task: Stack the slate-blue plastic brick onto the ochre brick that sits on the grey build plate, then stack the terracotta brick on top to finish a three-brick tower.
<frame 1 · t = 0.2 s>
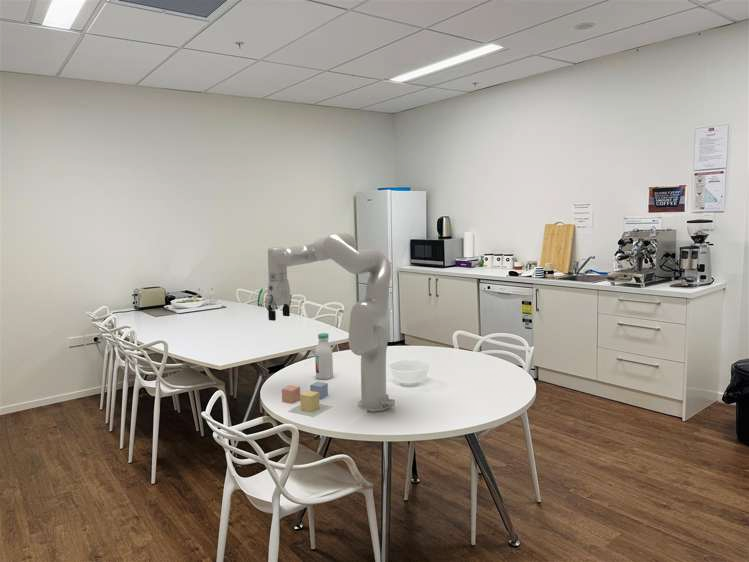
hand: (279, 318, 226), 31 cm above the table, tool pointing down, fingers open, 9 cm apart
brick A: (319, 398, 218), on the table
build plate: (310, 410, 205), on the table
milk bottle: (324, 377, 246), on the table
brick B: (291, 402, 214), on the table
brick base: (310, 408, 204), point 1 cm above the table, touching build plate
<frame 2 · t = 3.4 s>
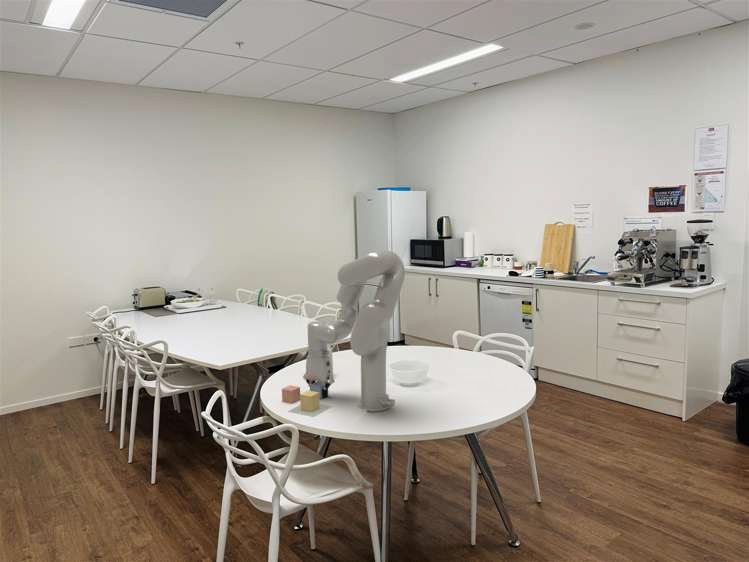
hand: (319, 396, 218), 1 cm above the table, tool pointing down, fingers closed on brick A, 5 cm apart
brick A: (319, 398, 218), on the table, touching gripper
everything else where it was.
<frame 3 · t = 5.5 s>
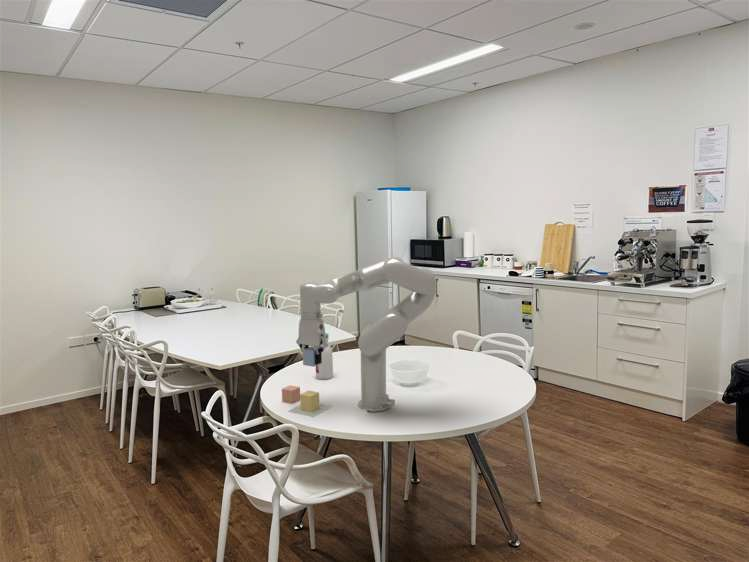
hand: (312, 362, 208), 17 cm above the table, tool pointing down, fingers closed on brick A, 5 cm apart
brick A: (312, 364, 208), point 17 cm above the table, touching gripper
everything else where it was.
when the fingers open (8 cm above the table, at t = 7.9 s): brick A stays where it is, resting on brick base.
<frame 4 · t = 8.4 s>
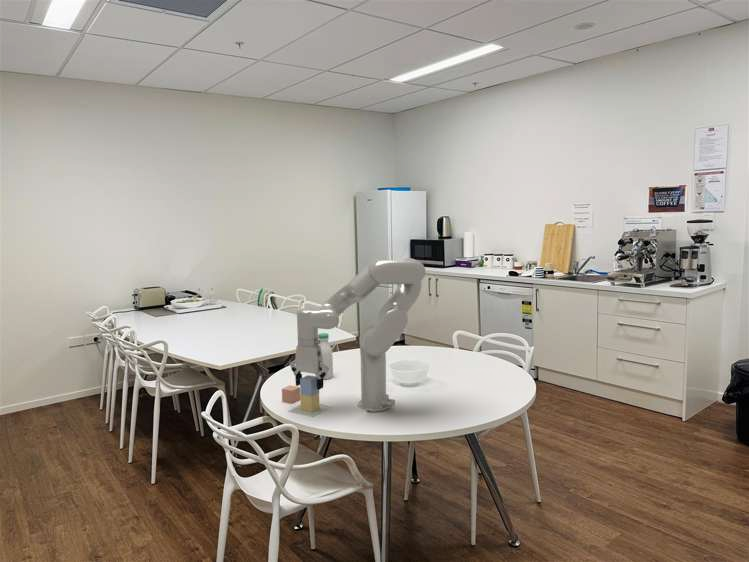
hand: (309, 386, 203), 9 cm above the table, tool pointing down, fingers open, 9 cm apart
brick A: (309, 393, 204), point 7 cm above the table, touching brick base
brick base: (310, 408, 204), point 1 cm above the table, touching brick A, build plate
everything else where it was.
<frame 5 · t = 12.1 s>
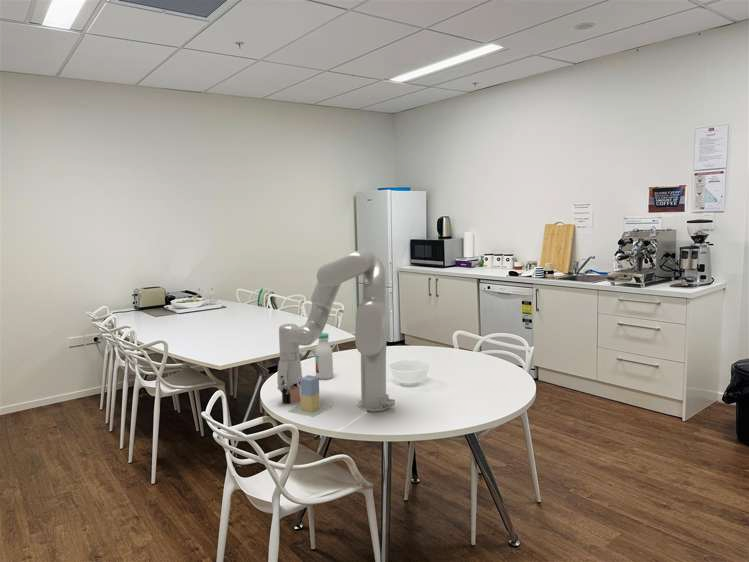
hand: (291, 400, 214), 1 cm above the table, tool pointing down, fingers closed on brick B, 5 cm apart
brick B: (291, 402, 214), on the table, touching gripper
everything else where it was.
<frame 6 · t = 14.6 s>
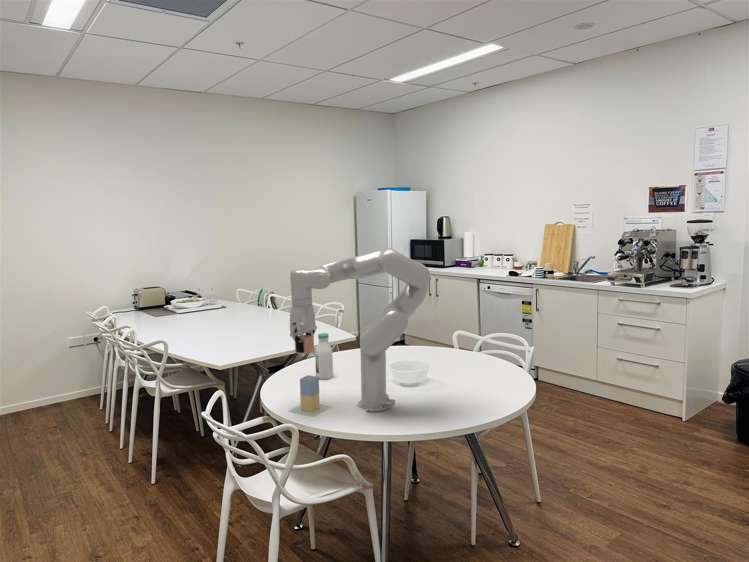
hand: (304, 349, 204), 23 cm above the table, tool pointing down, fingers closed on brick B, 5 cm apart
brick B: (304, 352, 204), point 22 cm above the table, touching gripper
everything else where it was.
when the fingers open (14 cm above the table, at t = 16.9 s): brick B stays where it is, resting on brick A.
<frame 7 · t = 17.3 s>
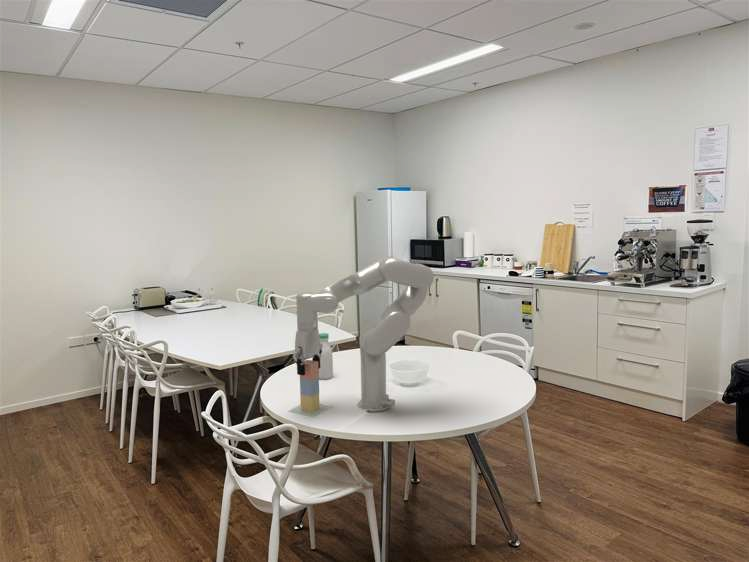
hand: (309, 371, 203), 15 cm above the table, tool pointing down, fingers open, 9 cm apart
brick A: (309, 393, 204), point 7 cm above the table, touching brick B, brick base
brick B: (309, 377, 203), point 13 cm above the table, touching brick A
everything else where it was.
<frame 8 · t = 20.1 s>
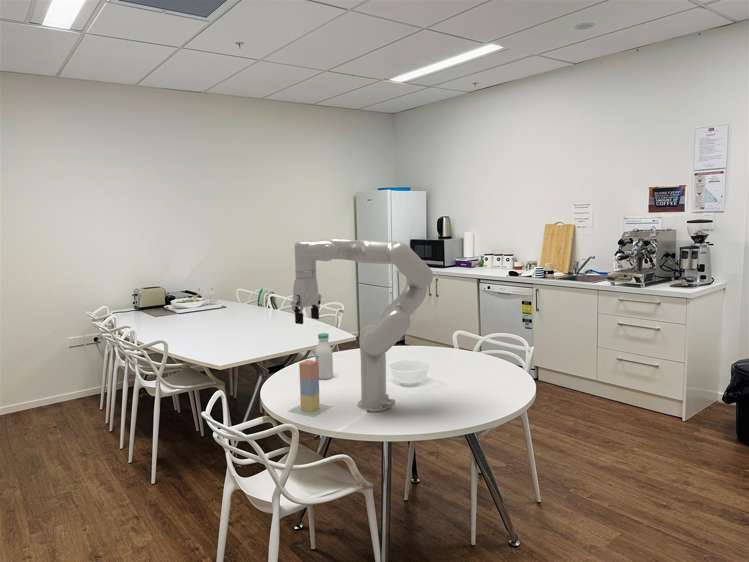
hand: (307, 321, 200), 34 cm above the table, tool pointing down, fingers open, 9 cm apart
nothing on the table moved.
at the end: brick A 0.1 cm off-centre on the brick base, point 6.0 cm above the brick base's base; brick B 0.0 cm off-centre on the brick base, point 12.0 cm above the brick base's base; brick B tilted 0° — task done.
